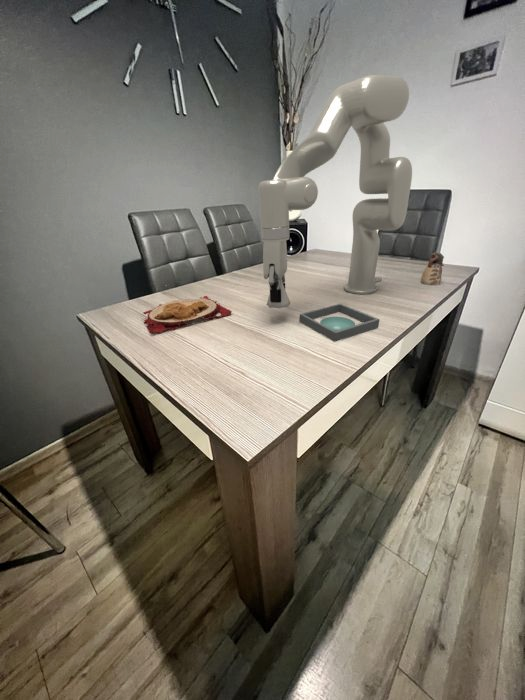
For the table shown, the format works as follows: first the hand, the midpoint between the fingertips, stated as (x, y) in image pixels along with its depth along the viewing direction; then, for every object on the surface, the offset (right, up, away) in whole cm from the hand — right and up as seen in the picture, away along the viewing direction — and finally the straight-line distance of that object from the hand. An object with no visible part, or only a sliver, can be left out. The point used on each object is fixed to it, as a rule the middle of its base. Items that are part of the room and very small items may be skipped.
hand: (278, 298), depth 82 cm
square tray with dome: (+17, -8, -1) cm, 19 cm away
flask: (0, -2, +1) cm, 2 cm away
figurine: (+64, +12, +30) cm, 72 cm away
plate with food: (-32, -4, +13) cm, 35 cm away
